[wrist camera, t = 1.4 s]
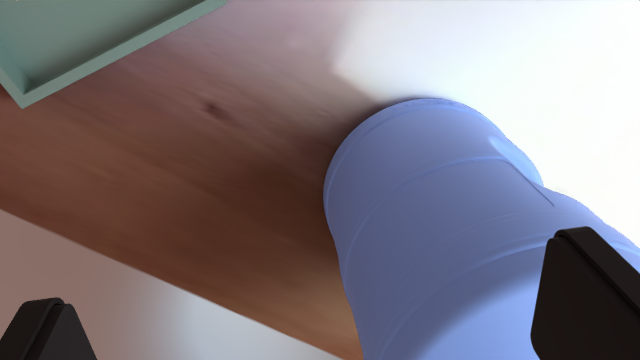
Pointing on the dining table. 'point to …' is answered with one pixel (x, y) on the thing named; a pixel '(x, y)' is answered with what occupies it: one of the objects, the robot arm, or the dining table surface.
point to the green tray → (79, 38)
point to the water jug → (444, 234)
